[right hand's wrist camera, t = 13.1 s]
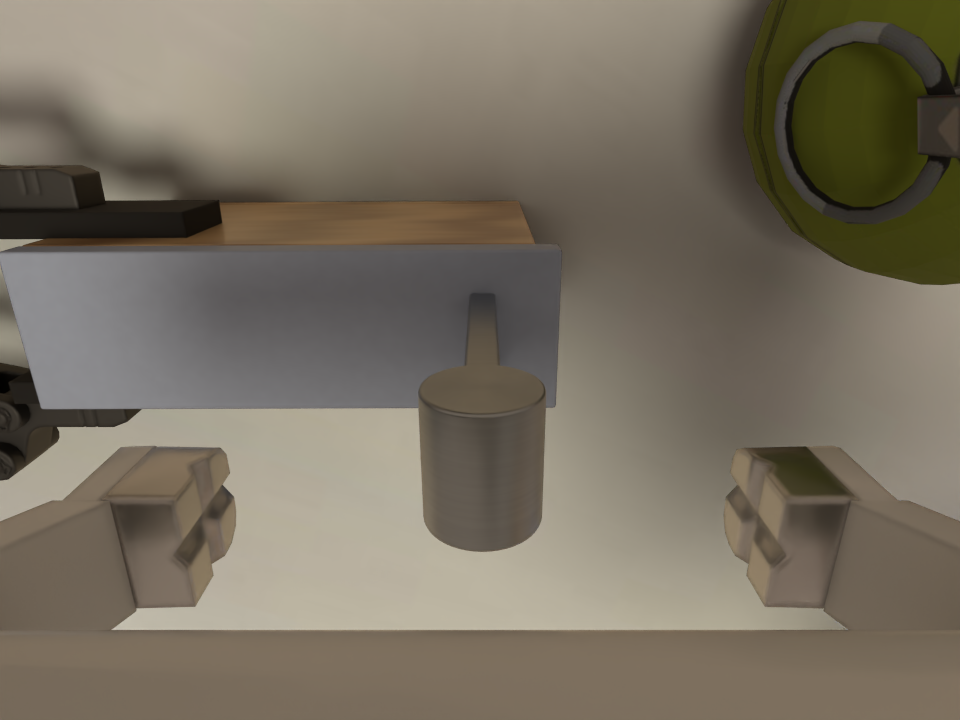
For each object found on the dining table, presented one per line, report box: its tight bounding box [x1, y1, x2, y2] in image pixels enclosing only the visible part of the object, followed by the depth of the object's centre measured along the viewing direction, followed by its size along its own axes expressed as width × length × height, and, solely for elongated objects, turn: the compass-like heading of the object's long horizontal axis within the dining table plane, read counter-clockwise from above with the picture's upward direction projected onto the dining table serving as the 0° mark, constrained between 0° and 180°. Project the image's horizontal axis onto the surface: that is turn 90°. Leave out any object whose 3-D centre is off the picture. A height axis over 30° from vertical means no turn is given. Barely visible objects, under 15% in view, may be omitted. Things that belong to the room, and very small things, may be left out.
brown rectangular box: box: [23, 201, 535, 246], centre depth 23 cm, size 14×5×9 cm, turn 90°
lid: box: [0, 244, 562, 552], centre depth 14 cm, size 15×5×9 cm, turn 90°
